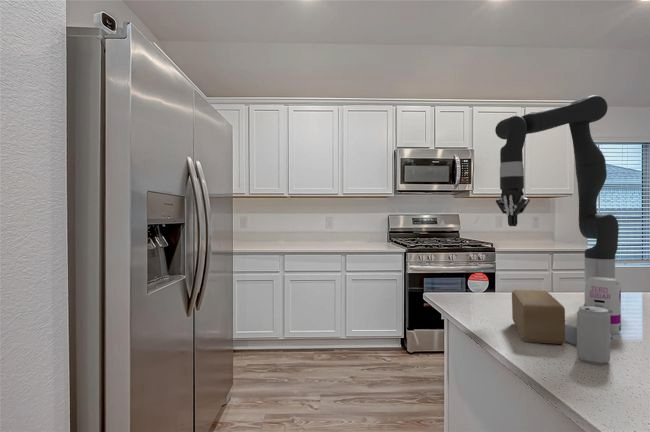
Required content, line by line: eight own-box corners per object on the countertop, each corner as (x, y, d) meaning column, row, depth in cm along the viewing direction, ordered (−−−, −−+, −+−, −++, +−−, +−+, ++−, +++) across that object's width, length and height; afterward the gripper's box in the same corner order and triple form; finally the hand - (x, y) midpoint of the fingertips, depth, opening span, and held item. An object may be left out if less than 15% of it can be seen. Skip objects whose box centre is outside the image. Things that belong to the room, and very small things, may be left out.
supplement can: (614, 328, 118) (614, 277, 118) (625, 336, 111) (625, 281, 111) (582, 325, 121) (582, 275, 121) (590, 333, 113) (590, 280, 113)
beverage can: (570, 356, 96) (570, 305, 96) (596, 355, 96) (596, 304, 96) (590, 366, 90) (590, 312, 89) (617, 365, 90) (617, 311, 90)
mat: (553, 322, 125) (553, 321, 125) (612, 339, 109) (612, 337, 109) (518, 326, 120) (518, 325, 120) (575, 345, 104) (575, 344, 104)
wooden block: (548, 323, 122) (566, 345, 103) (512, 321, 125) (523, 342, 106) (547, 290, 122) (565, 306, 103) (511, 289, 125) (522, 304, 106)
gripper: (536, 174, 135) (537, 226, 135) (504, 177, 147) (505, 225, 147) (519, 174, 132) (520, 227, 132) (488, 177, 144) (489, 226, 145)
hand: (512, 226), depth 140 cm, fingers closed
